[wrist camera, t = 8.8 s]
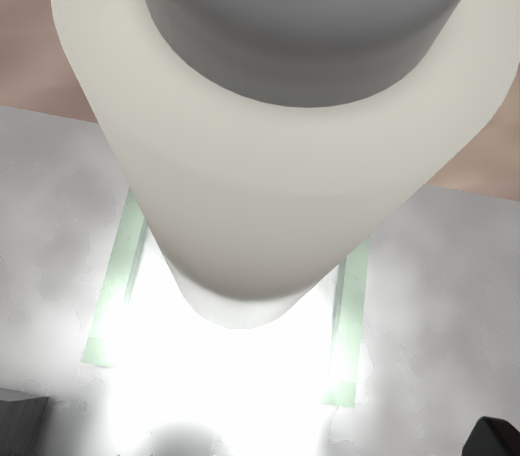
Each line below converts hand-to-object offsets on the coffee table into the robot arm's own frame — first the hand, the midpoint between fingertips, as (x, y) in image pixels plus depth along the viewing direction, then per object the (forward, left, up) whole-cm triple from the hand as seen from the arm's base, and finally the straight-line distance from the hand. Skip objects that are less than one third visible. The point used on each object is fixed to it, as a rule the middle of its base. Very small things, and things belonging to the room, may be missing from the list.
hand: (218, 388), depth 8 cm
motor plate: (+1, 0, -11) cm, 11 cm away
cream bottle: (+4, -2, -8) cm, 9 cm away
